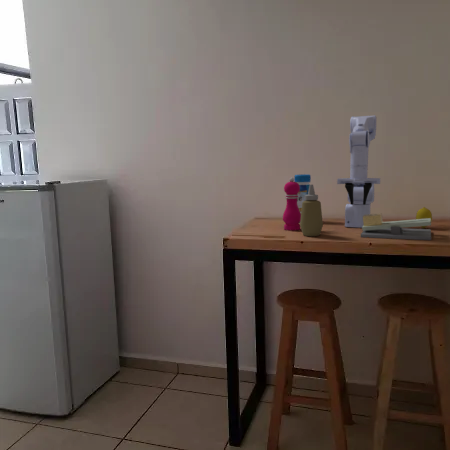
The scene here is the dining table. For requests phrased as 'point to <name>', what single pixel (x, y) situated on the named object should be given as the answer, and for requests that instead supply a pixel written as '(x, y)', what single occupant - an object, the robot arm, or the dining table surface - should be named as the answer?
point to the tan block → (372, 219)
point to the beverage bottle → (302, 188)
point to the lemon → (424, 214)
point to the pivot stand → (398, 233)
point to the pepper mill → (292, 206)
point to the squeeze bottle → (311, 214)
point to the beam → (400, 224)
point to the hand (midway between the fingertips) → (358, 204)
